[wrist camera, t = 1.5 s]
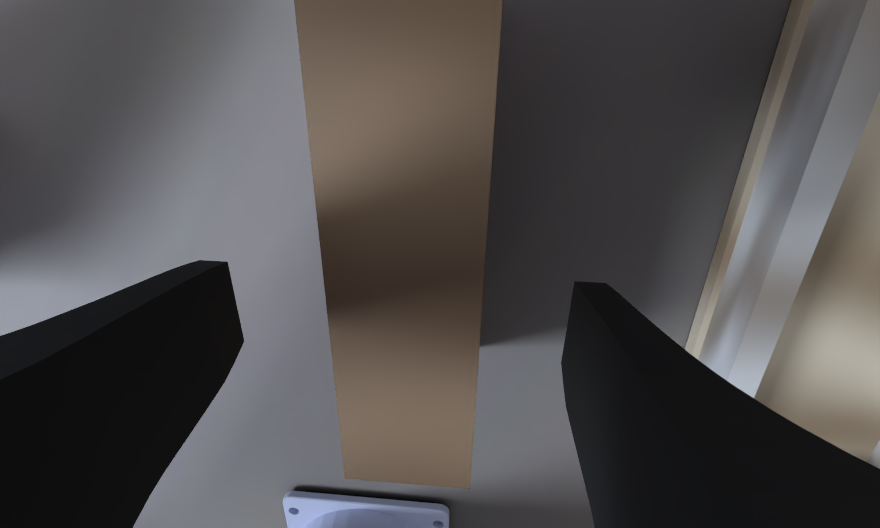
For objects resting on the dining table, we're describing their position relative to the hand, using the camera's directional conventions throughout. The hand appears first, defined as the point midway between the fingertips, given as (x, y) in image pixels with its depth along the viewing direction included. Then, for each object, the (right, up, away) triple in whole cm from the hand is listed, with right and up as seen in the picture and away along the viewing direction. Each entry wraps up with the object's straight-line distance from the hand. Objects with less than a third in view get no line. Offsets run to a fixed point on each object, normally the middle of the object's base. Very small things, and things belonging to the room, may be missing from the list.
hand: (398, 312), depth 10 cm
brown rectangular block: (+1, +3, +6) cm, 7 cm away
